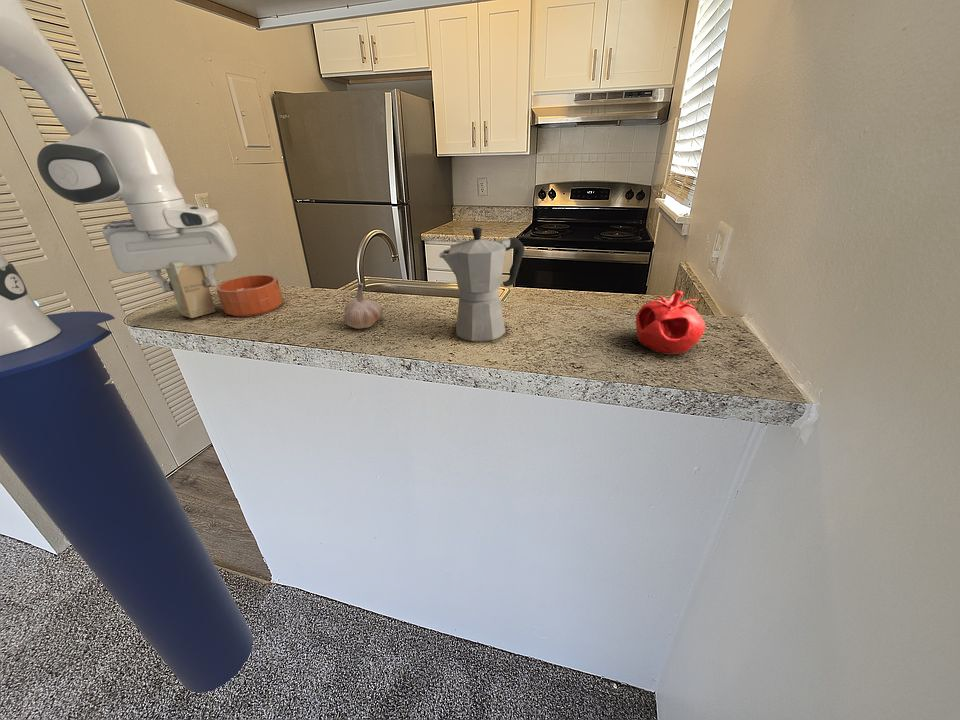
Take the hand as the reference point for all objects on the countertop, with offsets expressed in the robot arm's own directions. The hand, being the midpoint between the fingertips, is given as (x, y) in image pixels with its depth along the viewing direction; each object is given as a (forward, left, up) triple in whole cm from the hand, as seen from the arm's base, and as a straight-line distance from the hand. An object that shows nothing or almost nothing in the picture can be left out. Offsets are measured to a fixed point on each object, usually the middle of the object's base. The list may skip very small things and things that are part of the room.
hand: (191, 288), depth 82 cm
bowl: (+10, 0, -6) cm, 12 cm away
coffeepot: (+54, -27, -6) cm, 61 cm away
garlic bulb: (+33, -17, -6) cm, 38 cm away
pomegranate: (+80, -42, -6) cm, 91 cm away
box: (0, 0, -6) cm, 6 cm away
